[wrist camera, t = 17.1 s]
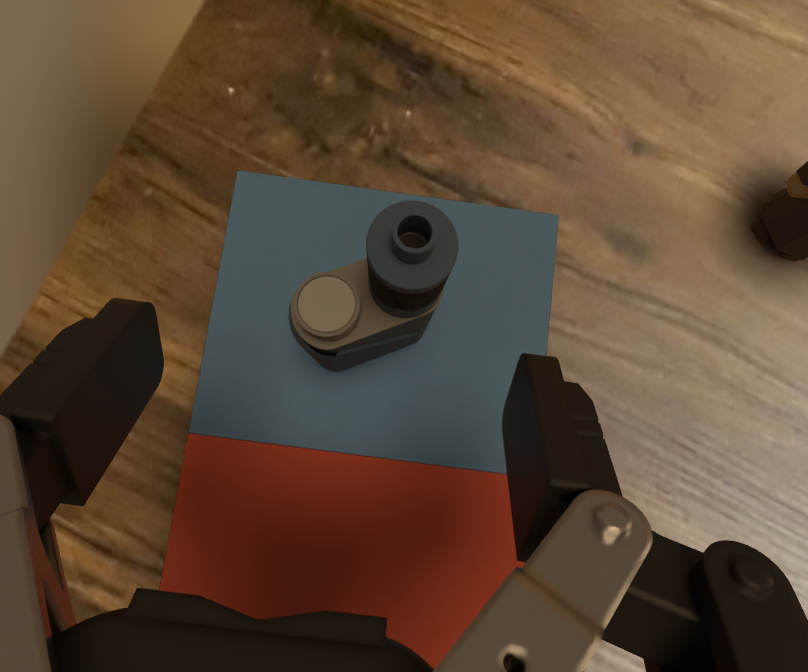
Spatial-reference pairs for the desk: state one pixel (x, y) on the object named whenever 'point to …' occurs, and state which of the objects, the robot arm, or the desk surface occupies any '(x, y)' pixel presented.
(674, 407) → the desk surface
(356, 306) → the vaping device
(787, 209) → the wizard figurine
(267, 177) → the sorting mat
